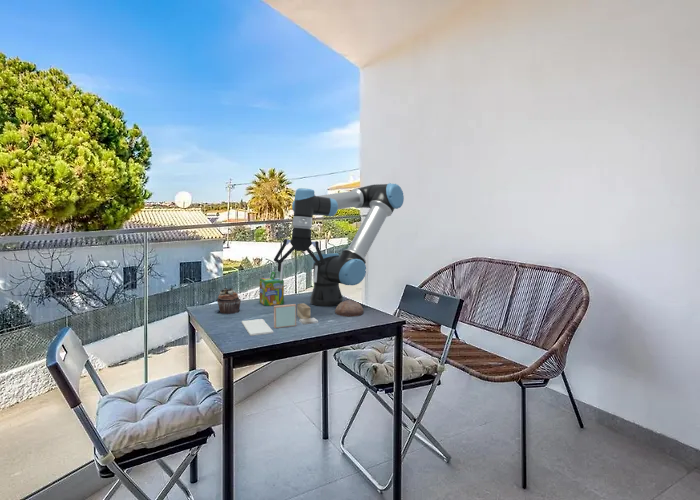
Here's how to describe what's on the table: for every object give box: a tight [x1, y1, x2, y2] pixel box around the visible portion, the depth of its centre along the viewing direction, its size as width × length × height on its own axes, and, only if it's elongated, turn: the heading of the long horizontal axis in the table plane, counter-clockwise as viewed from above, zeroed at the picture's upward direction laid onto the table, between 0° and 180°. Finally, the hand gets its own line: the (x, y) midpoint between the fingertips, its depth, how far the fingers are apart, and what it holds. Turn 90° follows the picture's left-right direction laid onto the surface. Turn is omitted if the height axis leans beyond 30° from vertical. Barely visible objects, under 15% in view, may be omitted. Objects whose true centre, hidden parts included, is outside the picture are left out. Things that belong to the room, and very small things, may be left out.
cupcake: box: [216, 287, 242, 315], centre depth 172 cm, size 10×10×10 cm
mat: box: [241, 318, 274, 337], centre depth 149 cm, size 8×18×1 cm, turn 24°
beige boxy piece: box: [296, 302, 319, 325], centre depth 161 cm, size 6×13×5 cm, turn 24°
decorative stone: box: [334, 299, 364, 317], centre depth 171 cm, size 12×12×6 cm
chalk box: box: [259, 271, 285, 307], centre depth 187 cm, size 9×9×15 cm
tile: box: [273, 303, 297, 329], centre depth 150 cm, size 8×2×8 cm, turn 114°
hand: (298, 281), depth 162 cm, fingers open, 13 cm apart
